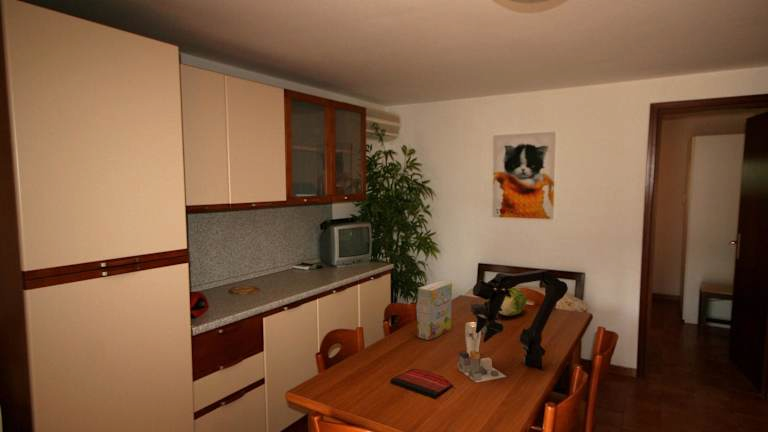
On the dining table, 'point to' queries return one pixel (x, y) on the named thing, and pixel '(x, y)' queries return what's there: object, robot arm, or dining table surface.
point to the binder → (422, 382)
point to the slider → (486, 363)
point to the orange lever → (474, 362)
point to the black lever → (463, 358)
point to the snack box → (434, 310)
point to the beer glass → (472, 337)
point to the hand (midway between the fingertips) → (480, 337)
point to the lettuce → (513, 303)
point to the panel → (481, 373)
